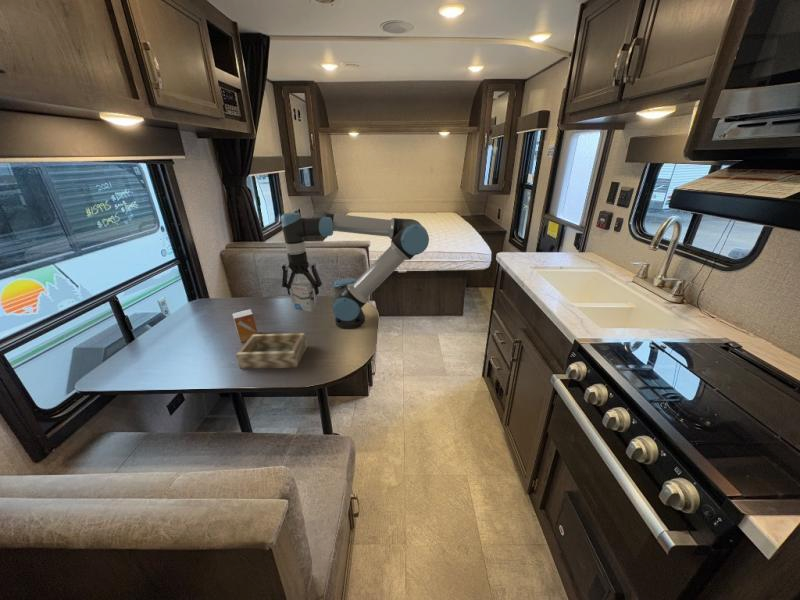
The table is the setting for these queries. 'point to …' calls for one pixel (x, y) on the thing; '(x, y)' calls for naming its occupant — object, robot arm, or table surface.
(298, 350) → the crate
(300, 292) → the ink box
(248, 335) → the small box
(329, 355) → the table surface
